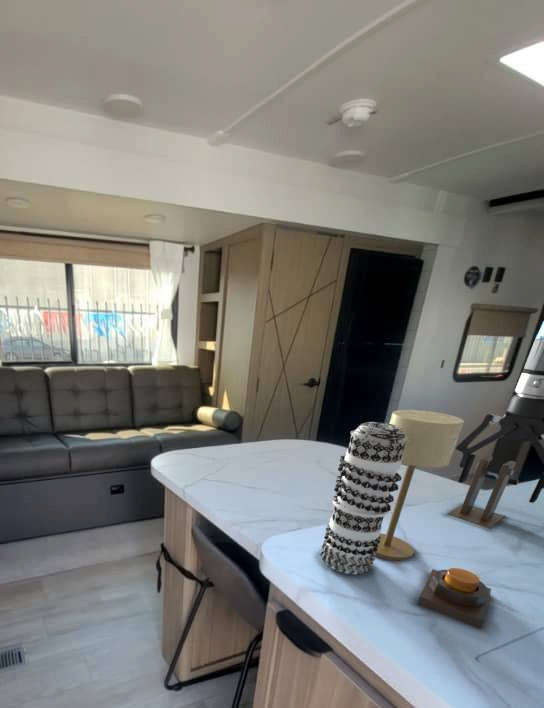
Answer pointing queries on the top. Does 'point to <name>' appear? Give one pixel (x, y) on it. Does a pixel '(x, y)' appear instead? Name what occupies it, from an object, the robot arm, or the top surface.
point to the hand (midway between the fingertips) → (495, 490)
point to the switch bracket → (488, 515)
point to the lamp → (418, 464)
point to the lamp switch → (497, 472)
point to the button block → (455, 600)
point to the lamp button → (461, 579)
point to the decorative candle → (363, 496)
